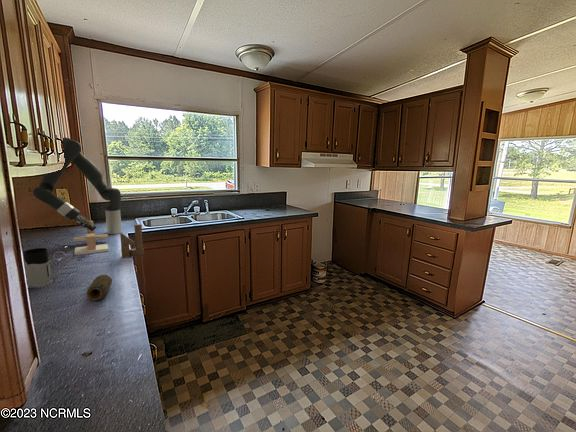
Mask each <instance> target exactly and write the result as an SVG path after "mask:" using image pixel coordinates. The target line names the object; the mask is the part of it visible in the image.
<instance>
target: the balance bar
mask: <svg viewBox="0 0 576 432" xmlns="http://www.w3.org/2000/svg"><path fill="white" fill-rule="evenodd" d="M87 223H88V224H89V225H91V226H92V227H94V226H95V225H94V221H93V220H89V221H87ZM86 231H87V233H86V234H91V233H95V230H93V231H91V230H89V229H88V228H86ZM102 239H103V240H105V239H109V234H107V233H105V234H95V240H102ZM83 241H87V237H86V235H85V236H84V235H83V236H74V237H73V242H74V243H75V242H83Z"/></svg>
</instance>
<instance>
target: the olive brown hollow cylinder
mask: <svg viewBox="0 0 576 432" xmlns="http://www.w3.org/2000/svg"><path fill="white" fill-rule="evenodd" d="M112 283H113V278H111V276H109V275H108V274H100V275H98V276H96V277H95V279H93V281H92V282H91V284H90V285H89V287H88V288H87V290H86V296H87V299H89V300H91V301H94V302H95V301H96V302H97V301H100V300H101V299H103V298H104V297H105V296H106V295H107V293H108V291H109V289H110V287H111V285H112Z"/></svg>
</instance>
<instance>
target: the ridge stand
mask: <svg viewBox="0 0 576 432" xmlns="http://www.w3.org/2000/svg"><path fill="white" fill-rule="evenodd" d="M95 235H96V234H95V232H94V233H91V234H88V233H86V235H85V236H86V237H87V240H86V246H77V247H75V248H74V256H78V255H79V256H80V255H87V254H94V253H95V254H96V253H103V252H109V245H108V243H105V244H97V243H96V239H95Z"/></svg>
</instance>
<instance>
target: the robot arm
mask: <svg viewBox="0 0 576 432" xmlns="http://www.w3.org/2000/svg"><path fill="white" fill-rule="evenodd" d="M62 138H63V148H64V158H65V163H64V166H63V168H62V169H61V170H58V171H56V172H52V173H48V174H45V173H44V174H43V176H42V177H41V182H40V183H39V186H37V187H35V188H34V189H33V190H32V195H33V196H34V197H35V198H37V199H38V200H39V201H41V202H42V203H44V204H46V205H48V206H50V207H51V208H52V209H54V210H55V211H57V212H58V214H60V215H61V216H63V217H65V219H67V220H69V221H70V222H72V221H73V220H75V224H77V225H79V226H80V227H82V228H85V229H87V228H88V229H89V230H91V231H93V230H94V231H95V230H96V229H97V227H96V226H95V225H94V227H92V226H91V225H89V224H88V223H87V221H90V219H89V218H88V217H86V216H85V215H80V214H81V210H79V209H77V208H76V207H75V206H74V205H72V204H70V203H69V202H67V201H66V200H64V199H63V198H61V197H60V196H57V195H56V194H54V193H53V192H54V189H55V187H56V185H57V183H58V182H59V180H60V179H61V177H62V175H63V174H64V172H65V171H66V169H67V168H68V167H69V166H70V164H71V163H73V164H74V165H75V167H76V168H77V169H78V170H79V171H80V172H81V174H82V175H83V176H84V177H85V178H86V179H87V180H88V182H90V183H91V185H92V186H93V187H94V189H95V190H96V192H98V194H99V196H101V198H102V199H103V200H105V201H109V204H108V205H106V206H105V207H104V210H105V223H106V234H108V235H117V234H120V232H121V233H123V231H122V217H121V216H122V215H121V214H122V213H121V206H122V194H121V191H120V189H118V188H115V187H108V186H107V185H106V184H105V182H104V181H103V180H104V179H103V174H102V172H101V170H100V169H99V168H98V167H97V166H96V164H94V162H92V161H91V160H90V159H89V158H87V157H86V156H85V155H84V154H83V153H82V152H81V151H82V144H81V143H80V142H79V141H77V140H74V139H72V138H69V137H62Z"/></svg>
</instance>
